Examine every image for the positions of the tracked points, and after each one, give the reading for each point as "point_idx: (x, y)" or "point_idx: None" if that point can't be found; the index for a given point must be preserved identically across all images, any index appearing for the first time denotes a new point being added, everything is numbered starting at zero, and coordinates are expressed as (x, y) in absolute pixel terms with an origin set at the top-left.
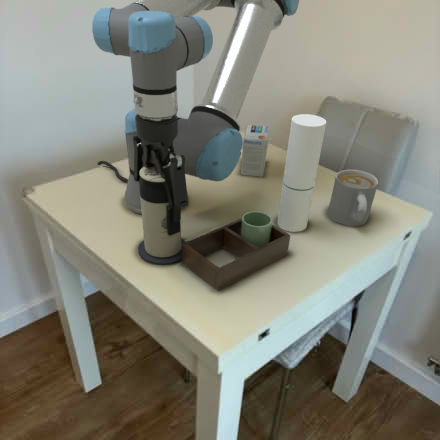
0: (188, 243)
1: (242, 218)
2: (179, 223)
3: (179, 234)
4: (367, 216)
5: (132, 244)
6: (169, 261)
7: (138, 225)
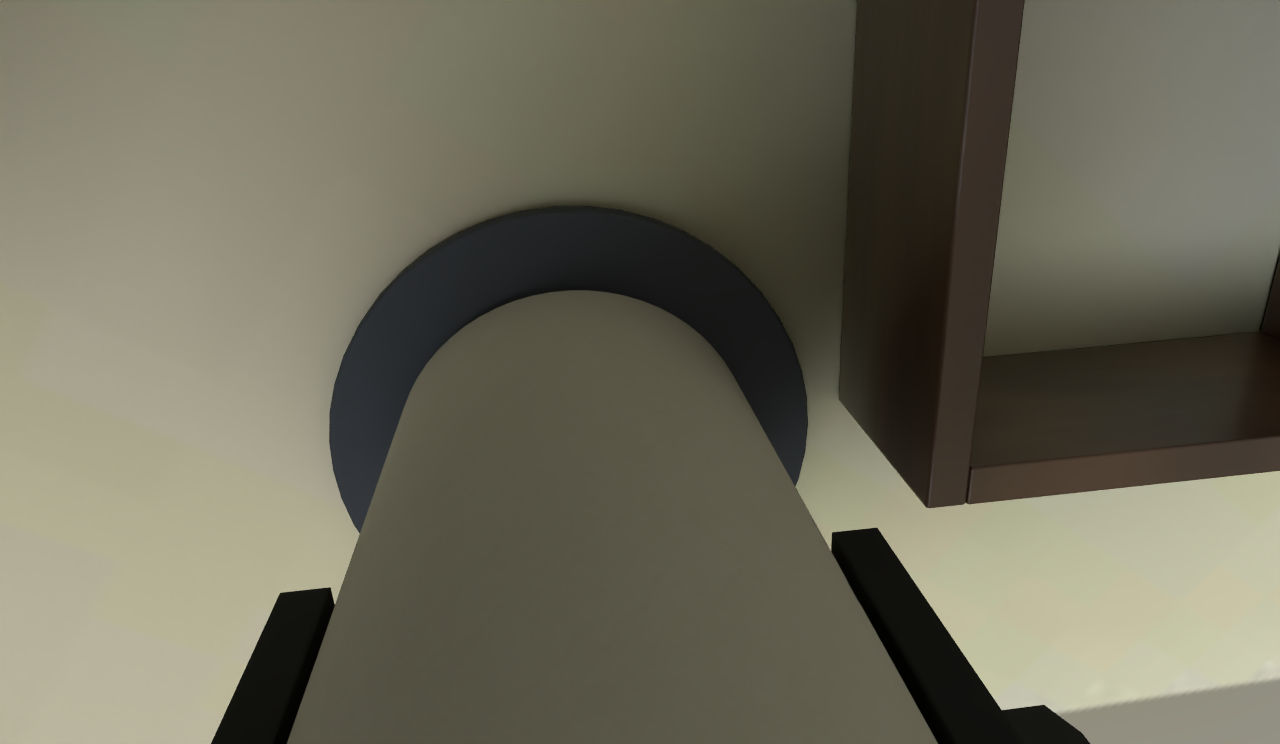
0: (968, 450)
1: None
2: (928, 617)
3: (774, 452)
4: None
5: None
6: None
7: (28, 437)
